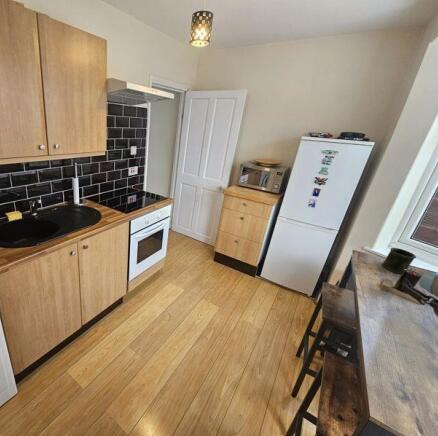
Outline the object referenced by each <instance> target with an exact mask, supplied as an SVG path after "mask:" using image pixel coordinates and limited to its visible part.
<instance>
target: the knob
mask: <svg viewBox="0 0 438 436" xmlns="http://www.w3.org/2000/svg"><path fill="white" fill-rule="evenodd" d="M422 277H423V275H422V274H421V273H419V272H417V271H415V270H413V269H409V268H407V269H405V270H404V272H403V273H402V274H400V276H399V278H398V279H397V280H396V281H395V282H396V284H395V287H396V288H398V289H399V290H401V288H402V287H403V284H402V280H403V279H404V278H407V279H408V280H409V282H410V283H411V284H412V285H413V287H414V288H415V287H416V285H417V284H418V283H419V282H420V279H421V278H422ZM401 291H403V290H401Z"/></svg>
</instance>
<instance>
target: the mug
mask: <svg viewBox="0 0 438 436" xmlns="http://www.w3.org/2000/svg"><path fill="white" fill-rule="evenodd" d="M416 258H417V256H416V255H415V254H414V253H412V252H411V251H408V250H405V249H402V248H398V247H391V248H390V251H389V252H388V254H387V256H386V257H385V259H384V261H383V262H382V267H383V268H384V269H386V270H388V271H389V272H392V273H395V274H400V275H402V273H403V272H404V270H405V269H409V267H410V266H411V264H412V263H413V261H414V260H415V259H416Z"/></svg>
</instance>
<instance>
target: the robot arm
mask: <svg viewBox="0 0 438 436" xmlns="http://www.w3.org/2000/svg"><path fill="white" fill-rule="evenodd" d="M418 283H419V286H420V287H421V288H422V289H423V290H424V291H426V292H428V293H429V294H431V295H428V294H427V293H425V292H423V291H422V290H419V289H417V288H415V287H413V285H412V284H411V283H410V282H409V280H408V279H407V278H404V279H403V280H402V284H403V287H402V288H401V290H403V291H404V292H405V293H407V294H408V295H410V296H411V297H413V298H414V299H416V300H417V301H418V302H419V305H421V306H425V305H428V306H429V307H431V308H432V310H433V313H434V314H435V316H436V317H437V318H438V273H436V272H428V273H425V274H424V275H422V277H421V278H420V280H419V281H418Z"/></svg>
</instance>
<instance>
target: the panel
mask: <svg viewBox="0 0 438 436" xmlns="http://www.w3.org/2000/svg"><path fill="white" fill-rule="evenodd" d="M396 282H397V281H393V280H391V279H389V278H384V280H383V281H382V283H381V286H380V290H382V291H384V292H388V293H389V292H390V293H393V294H395V295H397V296H400V297H402V298H404V299H407V300H408V301H410V302H413V303H415V304H418V305H420V303H419V302H418V301H417V300H416V299H414V298H413V297H411V296H410V295H408V294H407V293H405V292H404V291H401V290H399V289H398V288H396V287H395V284H396Z"/></svg>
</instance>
